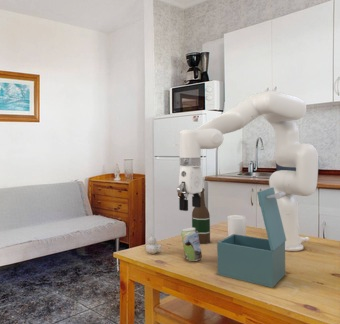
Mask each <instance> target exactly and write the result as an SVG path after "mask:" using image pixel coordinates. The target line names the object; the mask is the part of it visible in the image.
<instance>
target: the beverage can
mask: <svg viewBox="0 0 340 324" xmlns="http://www.w3.org/2000/svg"><path fill="white" fill-rule="evenodd" d="M180 235H181V240H182V245H183V252H184V257H185V259H186V260H187V261H189V262H197V261H200V260H201V259H202V258H203V254H202V253H203V252H202V247H201V244H200V242H199V236H198V232H197V230H196V229H195V228H192V227H185V228H183V229H181V233H180Z"/></svg>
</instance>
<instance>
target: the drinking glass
mask: <svg viewBox="0 0 340 324" xmlns="http://www.w3.org/2000/svg"><path fill="white" fill-rule="evenodd" d="M226 229H227V237H229V236H230V235H232V234H236V235H243V236H247V217H246V216H245V215H238V214H231V215H227V217H226Z"/></svg>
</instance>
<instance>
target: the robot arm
mask: <svg viewBox="0 0 340 324" xmlns="http://www.w3.org/2000/svg"><path fill="white" fill-rule="evenodd" d="M306 113H307V104H306V102H305V101H304V100H303V99H302V98H300V97H298V96H294V95H291V94H287V93H284V92H281V91H276V90H267V91H261V92H258V93H253V94H251V95H249V96H247V97H246V98H244V99H243V100H241V101H240V102H239V103H237V104H236V105H234V106H233V107H232V108H229V110H227V111H225V112H222V113H221V114H219V115H217V116H215V117H213V118H211V119H209V120H207V121H205V122H204V123H202V124H201V125H199V126H198V127H196V128H195V129H194V128H190V129H189V128H187V129H182V130H180V132H179V133H178V140H179V141H178V143H179V145H178V149H179V152H178V153H179V175H178V186H177V188H176V192H177V196H178V204H179V206H178V209H179V211H183V212H188V211H189V199H188V198H189V195H192V196H191V207H193V208H194V207H201V192H202V188H203V174H202V173H203V172H202V167H201V160H202V159H201V158H202V157H201V156H202V154H201V150H212V149H213V150H214V149H217V148H219V147H221V145H223V143H224V135H226V134H229V133H233V132H237V131H238V130H241V129H243V128H244V127H246V126H247V125H249V124H250V123H251V122H253V121H254V120H255V119H257V118H258V117H259V116H263V118H264V119H265V120H266V121H267V122H268V123H269V124H270V125H271V127H272V128H273V130H274V134H275V139H274V140H275V142H274V162H275V164H276V165H278V166H279V167H283V168H295V170H289V169H280V170H276V171H274V172H273V173H271V174H270V176H269V178H268V185H269V188H274V191H275V194H276V193H278V192H281V191H283V192H285V194H286V195H285V196H284V197H282V198H280V199H276V200H277V204H278V208H279V212H280V216H281V220H282V224H283V228H284V233H285V237H286V241H285V252H286V251H288V252H298V251H299V252H300V251H302V250H304V248H305V247H304V245H303V244H302V243H306V242H310V237H309V236H301V235H300V204H299V201H298V198H297V196H299V197H309V196H312V195H313V194H314V193H315V191H316V189H317V186H318V177H319V162H320V161H319V153H318V150H317V149H316V147H315V146H314V145H312V143H311V144H310V143H307V142H306V143H303V142H302V143H301V142H300V129H299V127H298V125H297V123H296V122H295V121H297V120H300V119H302V118H303V117H304V116H305V115H306Z"/></svg>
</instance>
